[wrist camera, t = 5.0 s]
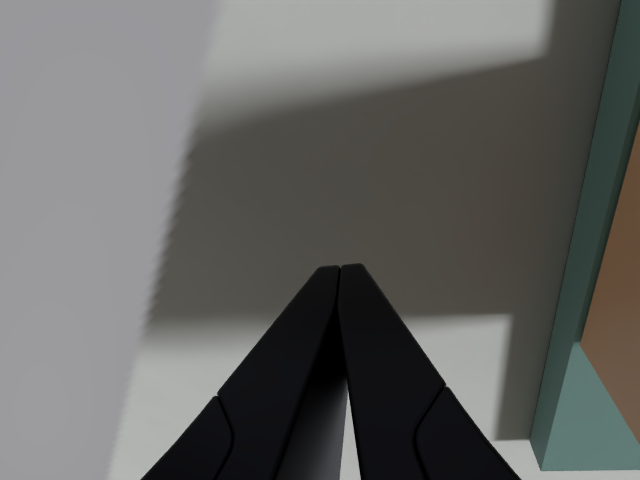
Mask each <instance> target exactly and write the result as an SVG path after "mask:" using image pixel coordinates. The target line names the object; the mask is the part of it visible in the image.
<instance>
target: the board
mask: <svg viewBox="0 0 640 480" xmlns="http://www.w3.org/2000/svg"><path fill="white" fill-rule="evenodd" d="M639 121H640V0H622V1H621V6H620V10H619V15H618V20H617V25H616V30H615V34H614V39H613V44H612V49H611V53H610V58H609V63H608V68H607V73H606V77H605V82H604V87H603V92H602V97H601V101H600V106H599V111H598V116H597V120H596V125H595V130H594V135H593V140H592V144H591V149H590V154H589V159H588V163H587V168H586V173H585V178H584V183H583V187H582V192H581V197H580V202H579V206H578V211H577V216H576V221H575V226H574V230H573V235H572V240H571V245H570V249H569V254H568V259H567V264H566V269H565V273H564V278H563V283H562V288H561V292H560V297H559V302H558V307H557V312H556V316H555V321H554V326H553V331H552V336H551V340H550V345H549V350H548V355H547V359H546V364H545V369H544V374H543V379H542V383H541V388H540V393H539V398H538V402H537V407H536V412H535V417H534V422H533V426H532V431H531V436H530V443H531V446H532V449H533V451H534V454H535V457H536V459H537V462H538V465H539V468H540V470H541V471H591V470H640V445H639V443H638V442H637V440H636V438H635V437H634V435H633V433H632V432H631V430H630V428H629V427H628V425H627V423H626V422H625V420H624V418H623V417H622V415H621V413H620V412H619V410H618V408H617V407H616V405H615V403H614V402H613V400H612V398H611V397H610V395H609V393H608V392H607V390H606V388H605V387H604V385H603V383H602V381H601V380H600V378H599V376H598V375H597V373H596V371H595V370H594V368H593V366H592V365H591V363H590V361H589V360H588V358H587V356H586V355H585V353H584V351H583V350H582V348H581V346H580V343H581V339H582V335H583V332H584V328H585V324H586V320H587V317H588V313H589V309H590V305H591V302H592V298H593V294H594V290H595V287H596V283H597V279H598V275H599V272H600V268H601V264H602V260H603V257H604V253H605V249H606V245H607V241H608V238H609V234H610V230H611V226H612V223H613V219H614V215H615V211H616V208H617V204H618V200H619V196H620V193H621V189H622V185H623V181H624V178H625V174H626V170H627V166H628V163H629V159H630V155H631V151H632V148H633V144H634V140H635V136H636V133H637V129H638V125H639Z"/></svg>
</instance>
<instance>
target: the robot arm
mask: <svg viewBox="0 0 640 480" xmlns="http://www.w3.org/2000/svg"><path fill="white" fill-rule="evenodd" d="M348 392H349V399H350V406H351V413H352V420H353V427H354V434H355V441H356V448H357V455H358V462H359V469H360V476H361V480H521V479H520V477H519V476H518V475H517V474H516V473H515V472H514V471H513V469H512V468H511V467H510V466H509V465H508V463H507V462H506V461H505V460H504V459H503V457H502V456H501V455H500V454H499V453H498V452H497V450H496V449H495V448H494V447H493V446H492V444H491V443H490V442H489V441H488V440H487V439H486V437H485V436H484V435H483V433H482V432H481V431H480V429H479V428H478V427H477V425H476V424H475V423H474V421H473V420H472V419H471V417H470V416H469V415H468V413H467V412H466V411H465V409H464V408H463V407H462V405H461V404H460V402H459V401H458V399H457V398H456V397H455V395H454V394H453V392H452V391H451V389H450V388H449V387H446V383H445V381H444V380H443V378H442V377H441V375H440V374H439V373H438V371H437V370H436V368H435V367H434V365H433V364H432V363H431V361H430V360H429V358H428V357H427V355H426V354H425V353H424V351H423V350H422V348H421V347H420V345H419V344H418V342H417V341H416V340H415V338H414V337H413V335H412V334H411V332H410V331H409V330H408V328H407V327H406V325H405V324H404V322H403V321H402V320H401V318H400V317H399V315H398V314H397V312H396V311H395V309H394V308H393V307H392V305H391V304H390V302H389V301H388V299H387V298H386V297H385V295H384V294H383V292H382V291H381V289H380V288H379V287H378V285H377V284H376V282H375V281H374V279H373V278H372V276H371V275H370V274H369V272H368V271H367V269H366V268H365V266H364V265H363V264H361V263H358V264H346V265H343V266H341V268H340V267H339V266H338V265H334V266H322V267H319V268H318V269H317V270H316V271H315V272H314V273H313V275H312V276H311V277H310V278H309V280H308V281H307V282H306V283H305V285H304V286H303V287H302V288H301V290H300V291H299V292H298V293H297V294H296V296H295V297H294V298H293V299H292V301H291V302H290V303H289V304H288V306H287V307H286V308H285V309H284V311H283V312H282V313H281V314H280V315H279V317H278V318H277V319H276V320H275V322H274V323H273V324H272V325H271V327H270V328H269V329H268V330H267V331H266V333H265V334H264V335H263V336H262V338H261V339H260V340H259V341H258V343H257V344H256V345H255V346H254V348H253V349H252V350H251V351H250V352H249V354H248V355H247V356H246V357H245V359H244V360H243V361H242V362H241V364H240V365H239V366H238V367H237V369H236V370H235V371H234V372H233V373H232V375H231V376H230V377H229V378H228V380H227V381H226V382H225V383H224V385H223V386H222V387H221V388H220V389H219V391H218V392H217V395H218V396H214V397H213V398H212V399H211V400H210V402H209V403H208V404H207V405H206V406H205V408H204V409H203V410H202V411H201V413H200V414H199V415H198V416H197V417H196V419H195V420H194V421H193V422H192V423H191V424H190V426H189V427H188V428H187V429H186V430H185V432H184V433H183V434H182V435H181V436H180V437H179V439H178V440H177V441H176V442H175V443H174V444H173V445H172V446H171V448H170V449H169V450H168V451H167V452H166V453H165V454H164V455H163V456H162V457H161V458H160V459H159V460H158V462H157V463H156V464H155V465H154V466H153V467H152V468H151V469H150V470H149V471H148V472H147V473H146V474H145V475H144V477H143V478H142V479H141V480H339V478H340V468H341V457H342V447H343V437H344V426H345V416H346V405H347V395H348Z"/></svg>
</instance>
